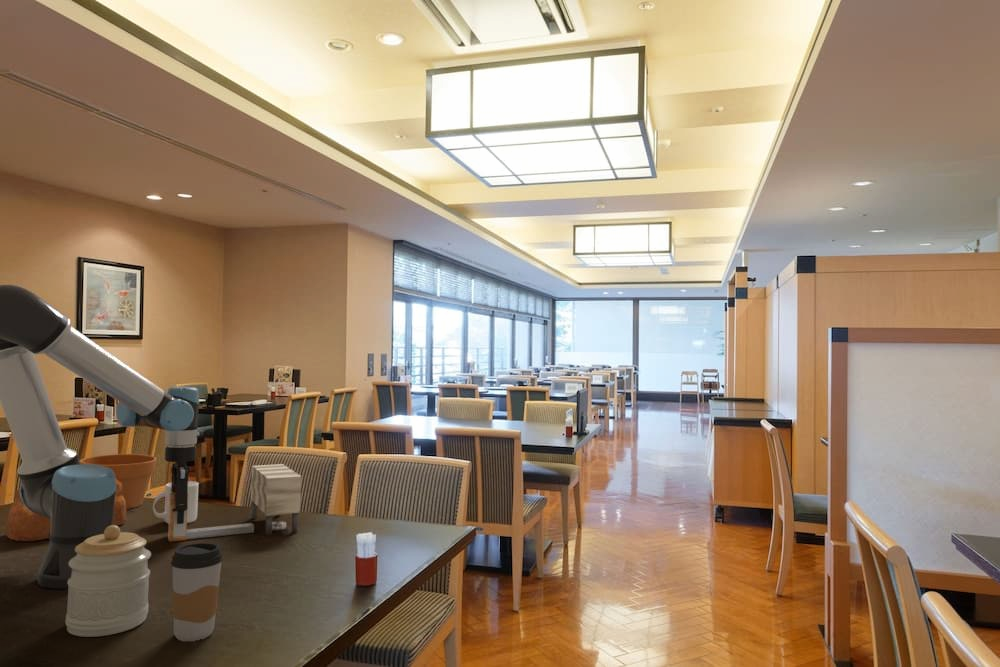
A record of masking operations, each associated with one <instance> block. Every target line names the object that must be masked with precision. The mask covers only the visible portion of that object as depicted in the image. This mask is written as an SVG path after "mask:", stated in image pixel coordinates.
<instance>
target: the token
mask: <svg viewBox="0 0 1000 667" xmlns="http://www.w3.org/2000/svg"><path fill="white" fill-rule="evenodd" d="M286 529H287V522H286V521H280V520H279V521H277V520H274V521H272V532H275V531H277V532H279V531H283V530H286ZM278 530H279V531H278Z"/></svg>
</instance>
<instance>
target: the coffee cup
mask: <svg viewBox="0 0 1000 667" xmlns="http://www.w3.org/2000/svg"><path fill="white" fill-rule="evenodd" d="M223 560H224V559H223V551H222V550H221V546H220V545H219V544H218V543H213V542H196V543H195V542H193V543H189V544H188V543H187V544H184V545H181V546H178V547H176V548H175V551H174V553H173V555H172V557H171V563H170V565H171V566H172V588H171V589H172V616H173V635H174V636H175V639H176V638H177V639H178V640H177V639H176V640H177V641H180V640H181V641H180V642H187V641H188V642H197V641H200V639H201V640H204V639H206V638H208V637H210V636H211V635H212V633H213V631H214V629H215V623H216V622H215V621H216V613H217V609H218V608H217V607H218V598H219V591H220V576H221V568H222V562H223ZM196 640H197V641H196Z"/></svg>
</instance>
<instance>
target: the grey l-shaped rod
mask: <svg viewBox="0 0 1000 667" xmlns="http://www.w3.org/2000/svg"><path fill="white" fill-rule="evenodd" d="M181 505H184V504H181ZM187 506H188V495H187ZM172 509H175V492H170V503H169V524H168V531H167V532H168V533H167V539H168V542H170V543H171V542H181V541H187V540H196V539H204V538H213V537H222V536H223V537H224V536H232V535H240V534H250V533H252V534H253V533H254V532H255V525H254V524H253V523H252V522H249V523H238V524H230V525H220V526H218V525H217V526H207V527H200V528H199V527H198V528H189V529H188V526H187V525H188V523H187V512H188V508H187V510H186V528H185V536H177V537H173V530H174V512H172Z"/></svg>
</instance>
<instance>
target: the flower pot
mask: <svg viewBox="0 0 1000 667" xmlns="http://www.w3.org/2000/svg"><path fill="white" fill-rule="evenodd" d="M79 460H80V463H81V464H92V465H96V466H97V465H101V466H105V467H108V468H110V469H111V470H112V471H113V472H114V473H115V478H116V480H118V481H119V482H121V483H122V496H123V497H124V499H125V503H126V510H131V509H134V508H135V509H136V508H138V507H141V505H143V502H144V499H145V495H146V492H147V490H148V488H149V484H150V479H151V476H152V475H153V473H155V471H156V465H157V457H156V456H153V455H148V454H138V453H115V454H114V453H113V454H102V455H93V456H88V457H84V458H81V459H79Z"/></svg>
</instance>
